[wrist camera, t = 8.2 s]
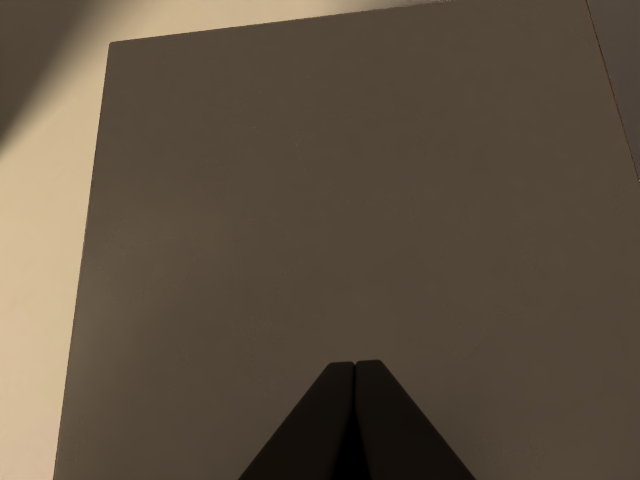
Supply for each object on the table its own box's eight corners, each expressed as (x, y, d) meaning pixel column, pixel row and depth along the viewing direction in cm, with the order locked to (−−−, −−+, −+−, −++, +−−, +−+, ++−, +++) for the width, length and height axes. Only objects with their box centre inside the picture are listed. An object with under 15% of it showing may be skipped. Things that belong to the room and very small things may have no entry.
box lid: (120, 59, 15) (107, 41, 14) (574, 5, 14) (583, -18, 13) (47, 677, 10) (23, 692, 9) (759, 670, 9) (789, 687, 8)
